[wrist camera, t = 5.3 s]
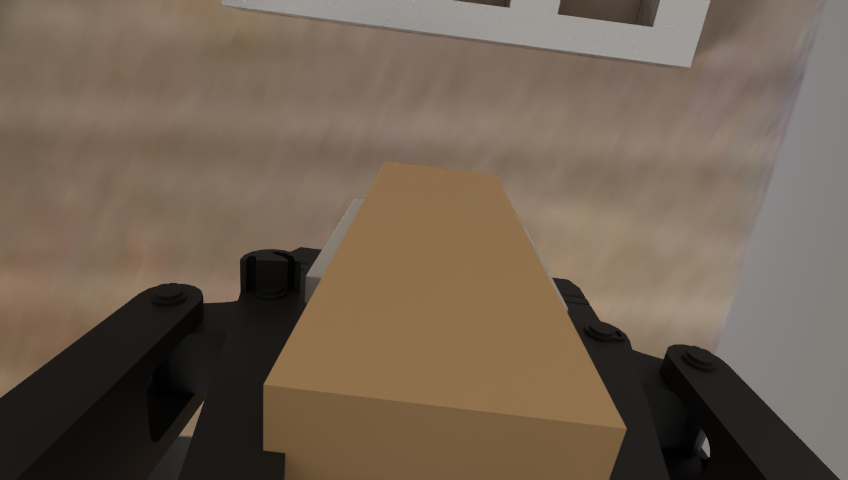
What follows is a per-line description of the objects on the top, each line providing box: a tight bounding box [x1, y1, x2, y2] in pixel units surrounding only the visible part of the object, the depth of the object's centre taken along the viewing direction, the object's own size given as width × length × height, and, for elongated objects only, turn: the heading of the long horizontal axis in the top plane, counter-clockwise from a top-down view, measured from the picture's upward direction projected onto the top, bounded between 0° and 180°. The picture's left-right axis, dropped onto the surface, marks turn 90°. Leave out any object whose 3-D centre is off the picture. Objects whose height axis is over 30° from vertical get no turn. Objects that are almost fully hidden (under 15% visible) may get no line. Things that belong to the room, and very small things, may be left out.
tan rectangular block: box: [263, 161, 627, 480], centre depth 13 cm, size 4×4×14 cm
